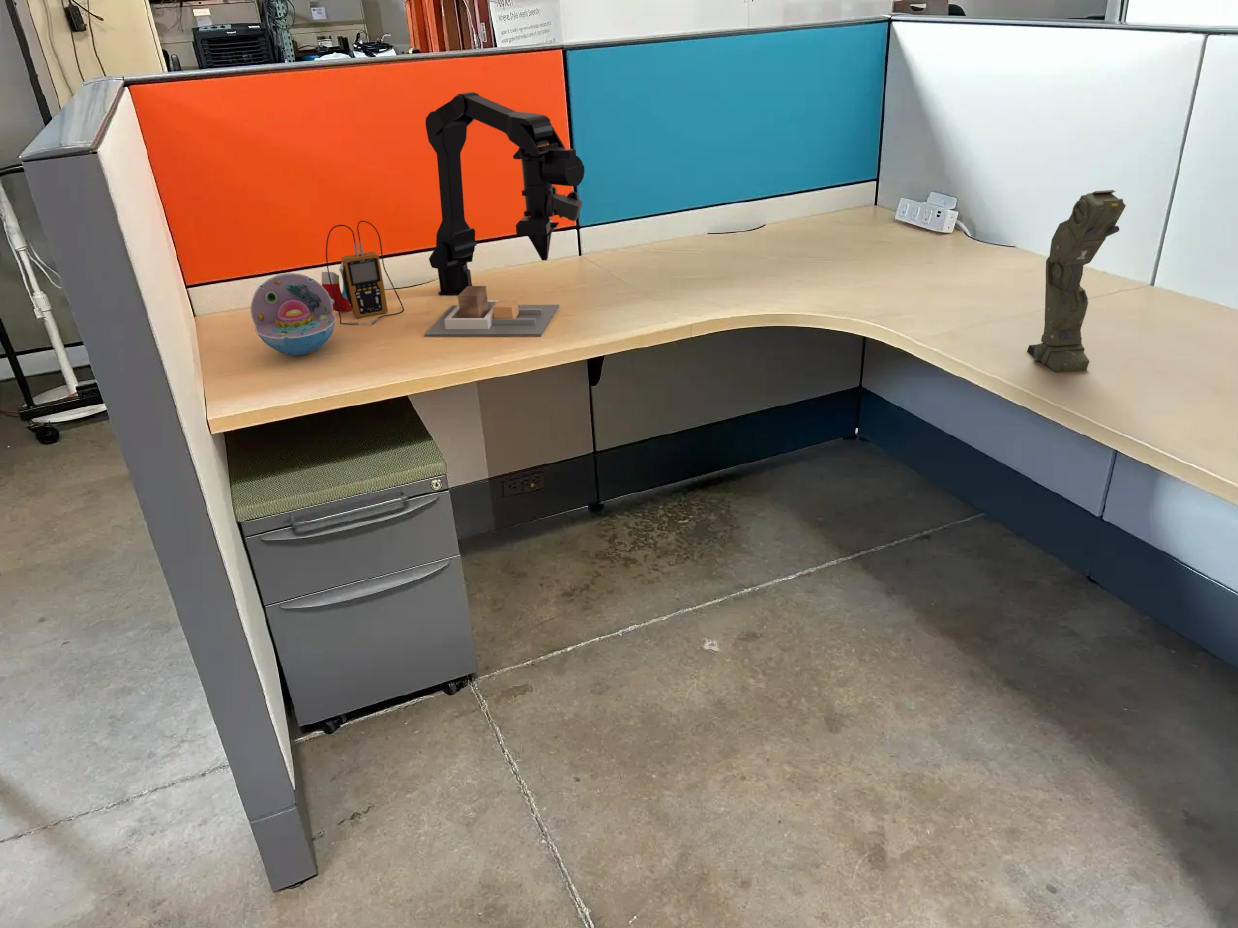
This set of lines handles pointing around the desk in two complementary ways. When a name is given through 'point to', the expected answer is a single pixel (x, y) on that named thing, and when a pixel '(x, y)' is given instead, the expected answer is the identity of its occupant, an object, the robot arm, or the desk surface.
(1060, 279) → the mechanical leg
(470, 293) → the block
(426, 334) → the grey base board
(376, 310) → the multimeter
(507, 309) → the block
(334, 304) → the magnet
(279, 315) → the educational model
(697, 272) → the desk surface
